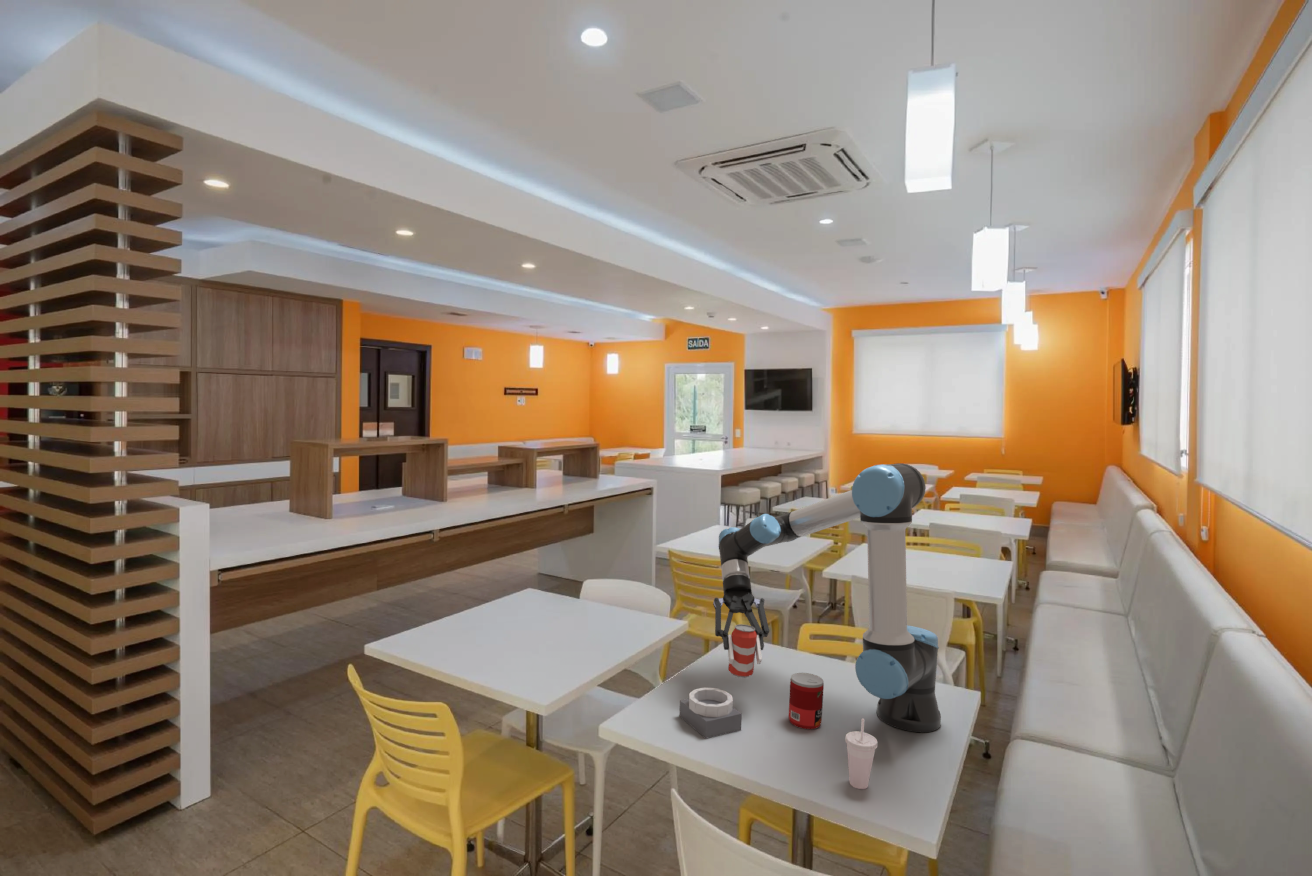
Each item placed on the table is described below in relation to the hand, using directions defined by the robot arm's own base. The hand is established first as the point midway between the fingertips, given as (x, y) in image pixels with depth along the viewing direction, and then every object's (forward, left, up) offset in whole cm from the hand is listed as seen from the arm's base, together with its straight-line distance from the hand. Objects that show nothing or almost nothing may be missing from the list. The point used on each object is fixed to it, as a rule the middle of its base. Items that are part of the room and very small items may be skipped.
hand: (745, 661), depth 169 cm
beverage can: (+3, -1, -5) cm, 6 cm away
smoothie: (-36, -3, -14) cm, 39 cm away
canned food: (-10, -11, -14) cm, 20 cm away
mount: (-1, +11, -13) cm, 17 cm away
